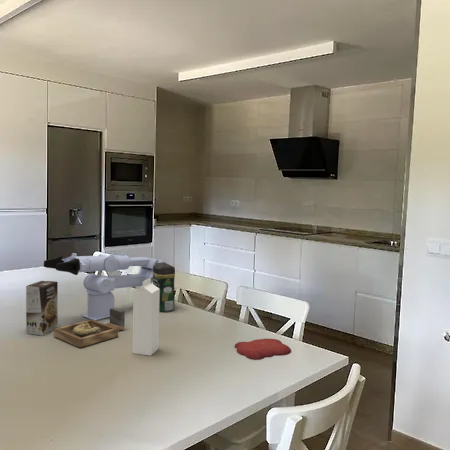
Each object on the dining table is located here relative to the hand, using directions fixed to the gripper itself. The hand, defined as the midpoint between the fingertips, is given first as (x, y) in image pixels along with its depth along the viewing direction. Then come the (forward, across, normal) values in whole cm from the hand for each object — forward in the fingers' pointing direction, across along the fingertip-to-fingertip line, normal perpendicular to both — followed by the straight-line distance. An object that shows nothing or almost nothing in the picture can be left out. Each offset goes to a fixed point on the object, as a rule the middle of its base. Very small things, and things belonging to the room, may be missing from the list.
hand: (50, 265), depth 157 cm
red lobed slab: (-36, +64, +19) cm, 76 cm away
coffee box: (+1, 0, +22) cm, 22 cm away
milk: (-10, +39, +21) cm, 45 cm away
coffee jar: (-45, +10, +18) cm, 49 cm away
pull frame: (-8, +16, +21) cm, 27 cm away
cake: (-5, +16, +22) cm, 28 cm away
